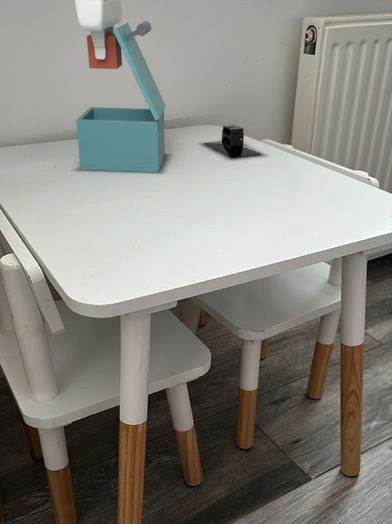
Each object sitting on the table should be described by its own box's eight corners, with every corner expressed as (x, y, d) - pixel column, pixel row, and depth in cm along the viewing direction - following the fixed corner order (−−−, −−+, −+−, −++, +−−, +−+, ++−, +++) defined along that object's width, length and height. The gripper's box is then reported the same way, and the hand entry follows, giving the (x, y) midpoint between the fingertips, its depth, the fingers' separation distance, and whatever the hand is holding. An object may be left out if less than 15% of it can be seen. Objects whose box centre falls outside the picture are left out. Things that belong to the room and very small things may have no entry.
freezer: (80, 169, 104) (75, 120, 99) (93, 153, 114) (89, 107, 109) (158, 172, 104) (157, 122, 99) (164, 155, 113) (164, 109, 108)
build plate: (204, 144, 121) (204, 122, 119) (233, 141, 124) (234, 119, 122) (231, 158, 112) (233, 134, 110) (262, 155, 115) (264, 131, 112)
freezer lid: (112, 29, 91) (138, 15, 90) (124, 24, 101) (147, 11, 99) (155, 120, 99) (179, 109, 97) (162, 107, 108) (184, 96, 107)
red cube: (89, 68, 98) (86, 35, 95) (95, 64, 102) (92, 33, 99) (117, 69, 97) (115, 36, 95) (122, 65, 102) (120, 33, 99)
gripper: (92, -38, 100) (98, 49, 107) (63, -41, 83) (73, 63, 90) (127, -38, 99) (131, 50, 107) (105, -40, 82) (112, 64, 90)
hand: (104, 56), depth 99 cm, fingers closed on red cube, 5 cm apart
